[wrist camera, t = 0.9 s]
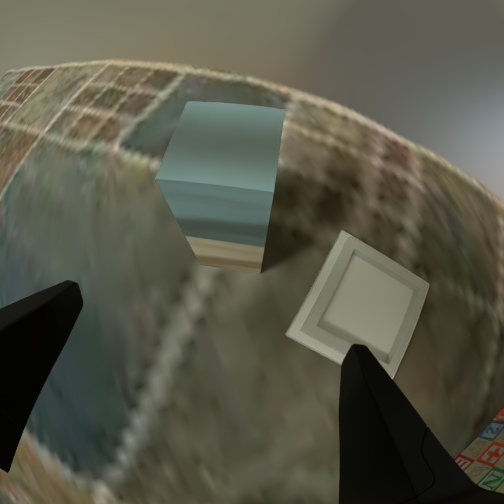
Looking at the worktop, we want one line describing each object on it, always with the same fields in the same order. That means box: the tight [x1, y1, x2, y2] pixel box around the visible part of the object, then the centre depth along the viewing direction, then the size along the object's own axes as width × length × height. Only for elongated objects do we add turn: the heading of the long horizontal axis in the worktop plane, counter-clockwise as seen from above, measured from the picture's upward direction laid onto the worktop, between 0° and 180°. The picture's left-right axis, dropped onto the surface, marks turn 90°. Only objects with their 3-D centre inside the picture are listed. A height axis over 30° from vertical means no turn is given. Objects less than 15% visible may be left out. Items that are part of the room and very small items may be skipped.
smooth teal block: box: [155, 102, 285, 274], centre depth 18 cm, size 5×5×13 cm
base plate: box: [285, 230, 430, 379], centre depth 21 cm, size 10×10×2 cm
